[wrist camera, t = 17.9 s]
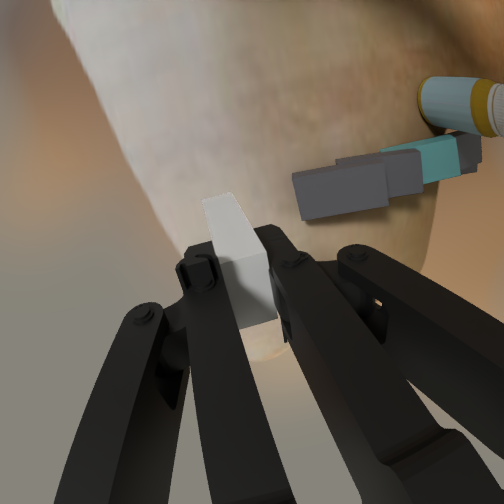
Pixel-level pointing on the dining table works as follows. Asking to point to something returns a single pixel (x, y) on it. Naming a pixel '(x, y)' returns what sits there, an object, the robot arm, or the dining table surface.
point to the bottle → (463, 104)
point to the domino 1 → (341, 189)
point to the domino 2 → (397, 170)
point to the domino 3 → (435, 157)
